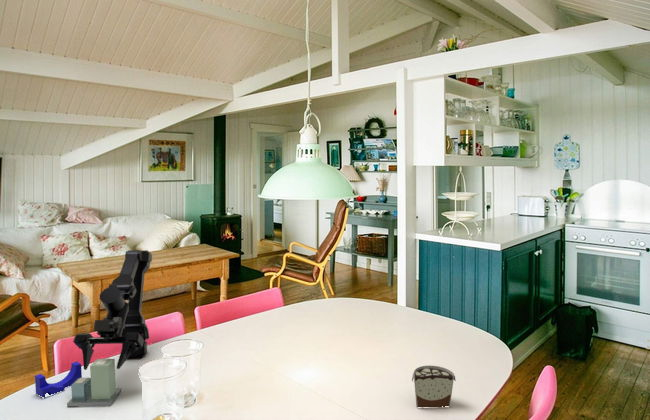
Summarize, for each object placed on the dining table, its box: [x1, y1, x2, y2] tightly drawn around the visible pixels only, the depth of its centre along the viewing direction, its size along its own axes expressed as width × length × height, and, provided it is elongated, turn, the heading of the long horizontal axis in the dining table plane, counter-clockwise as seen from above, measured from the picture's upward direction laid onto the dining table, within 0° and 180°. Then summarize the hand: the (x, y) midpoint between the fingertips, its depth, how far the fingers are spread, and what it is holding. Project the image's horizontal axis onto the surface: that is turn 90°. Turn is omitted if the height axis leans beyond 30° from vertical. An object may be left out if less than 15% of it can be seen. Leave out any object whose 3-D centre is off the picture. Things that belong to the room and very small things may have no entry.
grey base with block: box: [66, 377, 123, 407], centre depth 129 cm, size 12×8×6 cm, turn 93°
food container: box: [411, 365, 457, 408], centre depth 127 cm, size 12×6×10 cm, turn 92°
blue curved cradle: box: [34, 361, 83, 397], centre depth 135 cm, size 12×4×6 cm, turn 145°
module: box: [89, 357, 117, 399], centre depth 129 cm, size 5×4×10 cm
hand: (101, 369), depth 127 cm, fingers open, 9 cm apart
